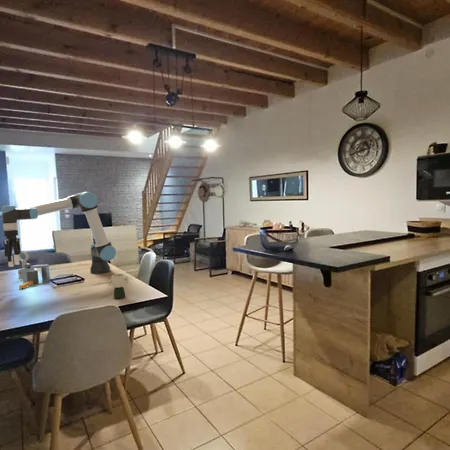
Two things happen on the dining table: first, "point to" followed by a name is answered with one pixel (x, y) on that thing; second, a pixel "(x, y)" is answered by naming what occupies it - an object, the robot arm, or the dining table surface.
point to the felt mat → (63, 275)
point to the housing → (29, 267)
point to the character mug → (118, 285)
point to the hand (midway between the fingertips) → (14, 265)
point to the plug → (30, 279)
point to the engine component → (22, 263)
